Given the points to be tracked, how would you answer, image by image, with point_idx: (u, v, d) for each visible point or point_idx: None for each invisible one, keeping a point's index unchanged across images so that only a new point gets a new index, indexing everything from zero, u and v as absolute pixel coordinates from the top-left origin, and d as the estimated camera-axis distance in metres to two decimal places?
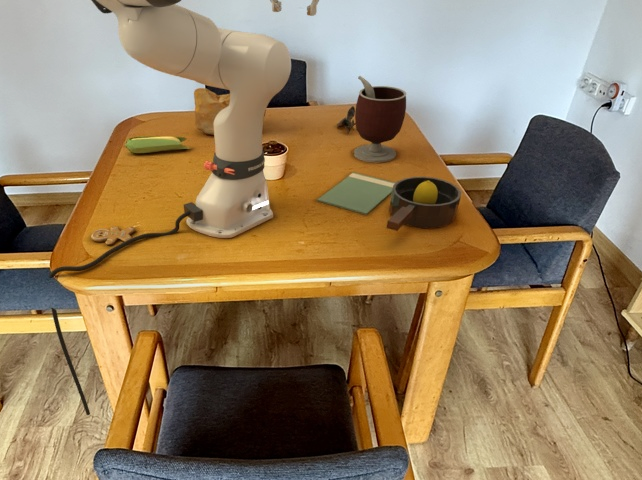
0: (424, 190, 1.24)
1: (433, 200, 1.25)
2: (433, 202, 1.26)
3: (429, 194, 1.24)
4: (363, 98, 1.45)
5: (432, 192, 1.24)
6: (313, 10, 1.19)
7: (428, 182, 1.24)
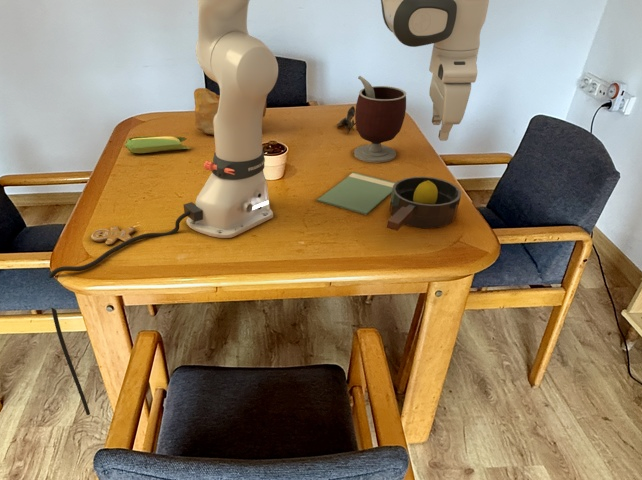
0: (424, 190, 1.24)
1: (433, 200, 1.25)
2: (433, 202, 1.26)
3: (429, 194, 1.24)
4: (363, 98, 1.45)
5: (432, 192, 1.24)
6: (442, 135, 1.12)
7: (428, 182, 1.24)
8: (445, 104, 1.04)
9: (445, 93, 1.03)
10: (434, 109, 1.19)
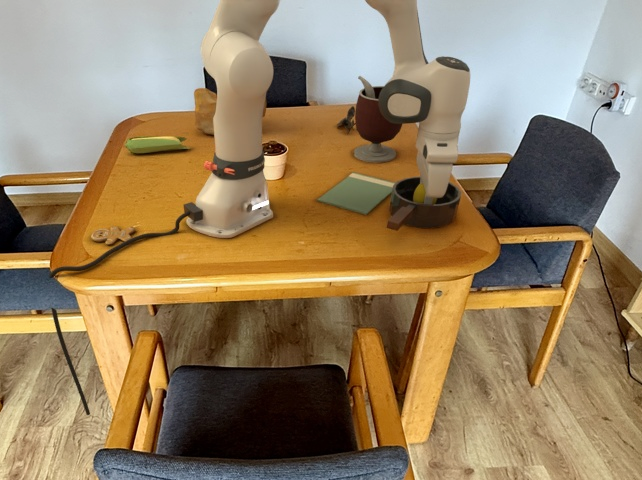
0: (424, 190, 1.24)
1: (433, 200, 1.25)
2: (433, 202, 1.26)
3: None
4: (363, 98, 1.45)
5: None
6: (426, 202, 1.24)
7: None
8: (429, 181, 1.15)
9: (429, 171, 1.14)
10: (421, 179, 1.29)
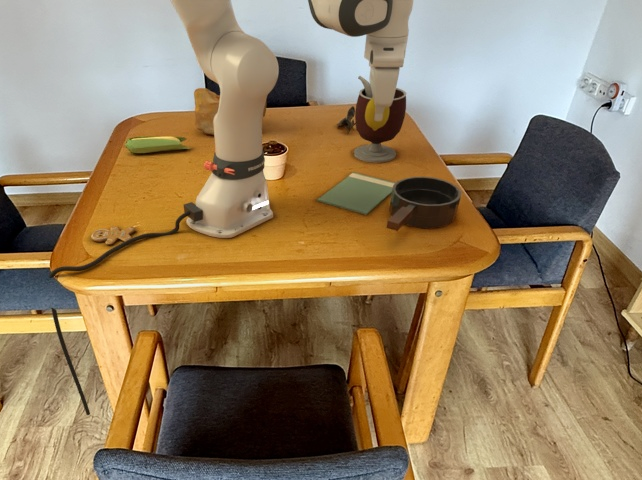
0: None
1: (384, 115, 1.22)
2: (384, 117, 1.23)
3: None
4: (363, 98, 1.45)
5: None
6: (376, 116, 1.21)
7: None
8: (376, 87, 1.12)
9: (375, 77, 1.11)
10: None
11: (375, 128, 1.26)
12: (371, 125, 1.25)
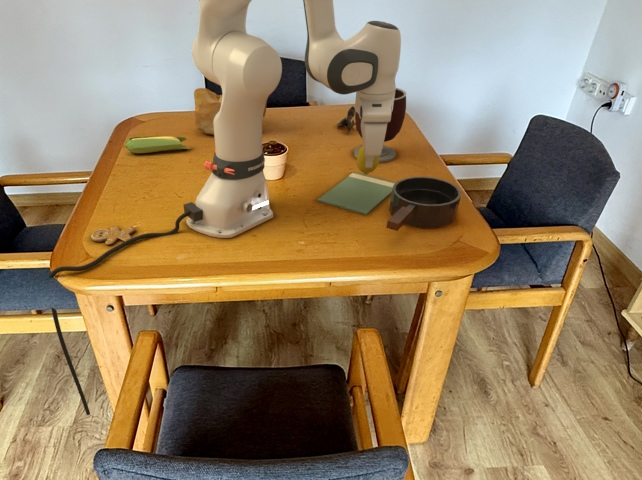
0: None
1: (374, 161, 1.31)
2: (375, 164, 1.31)
3: None
4: None
5: None
6: (367, 163, 1.29)
7: None
8: (365, 140, 1.20)
9: (365, 131, 1.19)
10: None
11: (366, 173, 1.34)
12: (362, 170, 1.33)
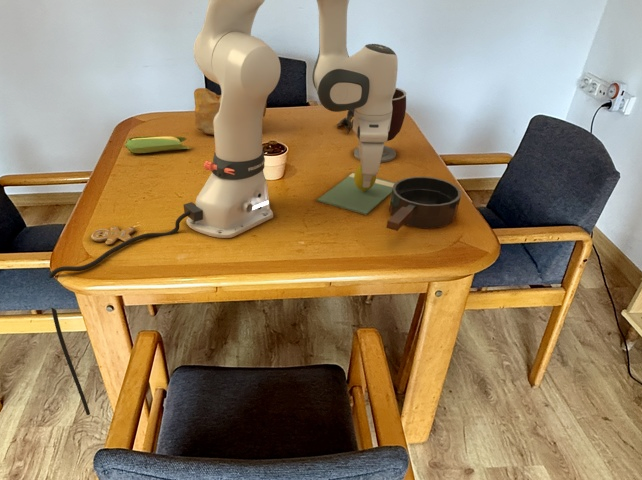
0: None
1: (371, 179, 1.34)
2: (372, 182, 1.35)
3: None
4: None
5: None
6: (364, 183, 1.31)
7: None
8: (362, 159, 1.23)
9: (362, 150, 1.22)
10: None
11: (363, 190, 1.37)
12: (360, 188, 1.36)
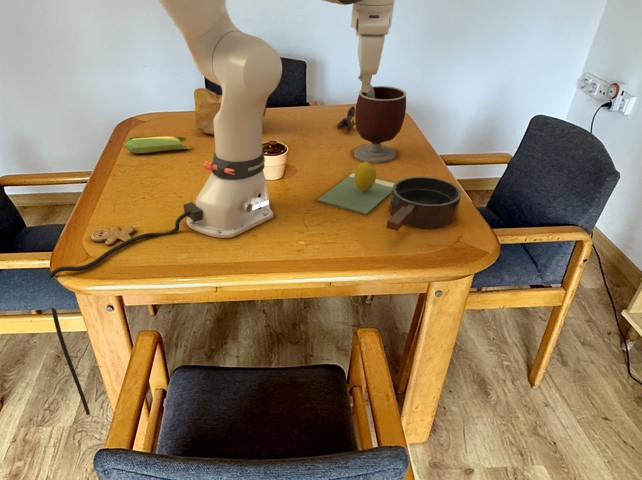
0: (363, 170, 1.33)
1: (371, 179, 1.34)
2: (372, 182, 1.35)
3: (367, 174, 1.33)
4: (363, 98, 1.45)
5: (370, 172, 1.33)
6: (363, 87, 1.22)
7: (366, 163, 1.33)
8: (361, 54, 1.14)
9: (361, 44, 1.13)
10: None
11: (363, 190, 1.37)
12: (360, 188, 1.36)
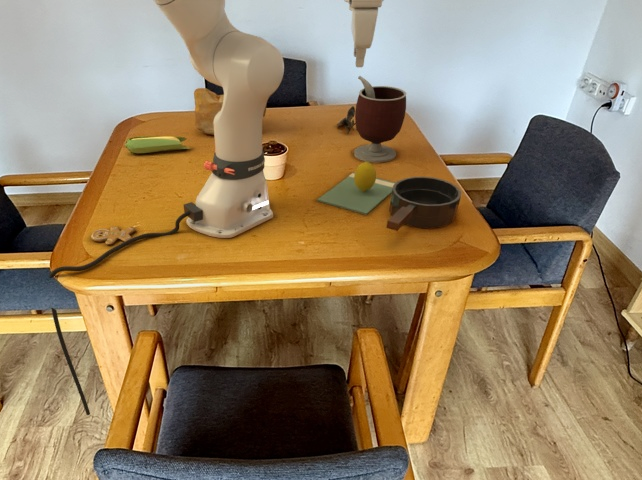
0: (363, 170, 1.33)
1: (371, 179, 1.34)
2: (372, 182, 1.35)
3: (367, 174, 1.33)
4: (363, 98, 1.45)
5: (370, 172, 1.33)
6: (358, 62, 1.22)
7: (366, 163, 1.33)
8: (355, 28, 1.14)
9: (354, 17, 1.13)
10: None
11: (363, 190, 1.37)
12: (360, 188, 1.36)
